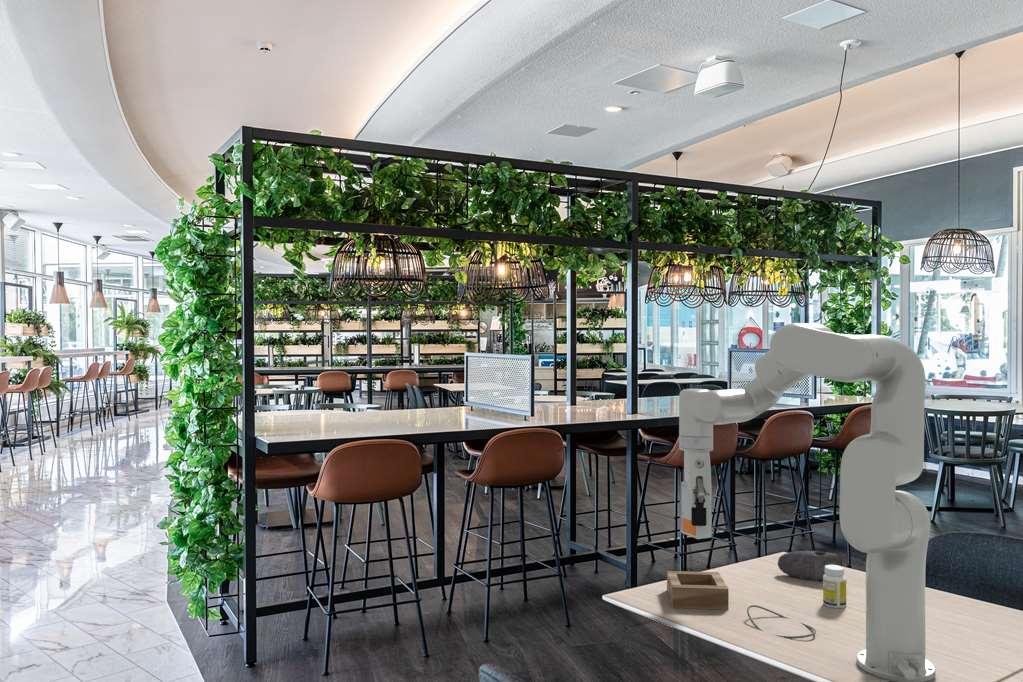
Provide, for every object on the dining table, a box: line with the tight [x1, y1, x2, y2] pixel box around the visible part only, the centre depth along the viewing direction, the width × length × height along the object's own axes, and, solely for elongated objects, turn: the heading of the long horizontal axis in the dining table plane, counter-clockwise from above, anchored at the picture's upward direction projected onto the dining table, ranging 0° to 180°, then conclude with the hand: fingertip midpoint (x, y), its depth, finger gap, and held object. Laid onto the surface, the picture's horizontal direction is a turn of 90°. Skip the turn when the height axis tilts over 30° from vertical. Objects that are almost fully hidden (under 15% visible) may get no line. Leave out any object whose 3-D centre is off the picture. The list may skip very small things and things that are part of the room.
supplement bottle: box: [822, 565, 847, 609], centre depth 169 cm, size 5×5×8 cm
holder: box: [666, 570, 729, 610], centre depth 173 cm, size 12×12×4 cm
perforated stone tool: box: [777, 550, 844, 581], centre depth 188 cm, size 15×5×7 cm, turn 60°
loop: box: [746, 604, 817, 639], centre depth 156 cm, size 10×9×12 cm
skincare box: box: [680, 481, 713, 540], centre depth 173 cm, size 6×4×12 cm
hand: (696, 520), depth 173 cm, fingers closed on skincare box, 7 cm apart
